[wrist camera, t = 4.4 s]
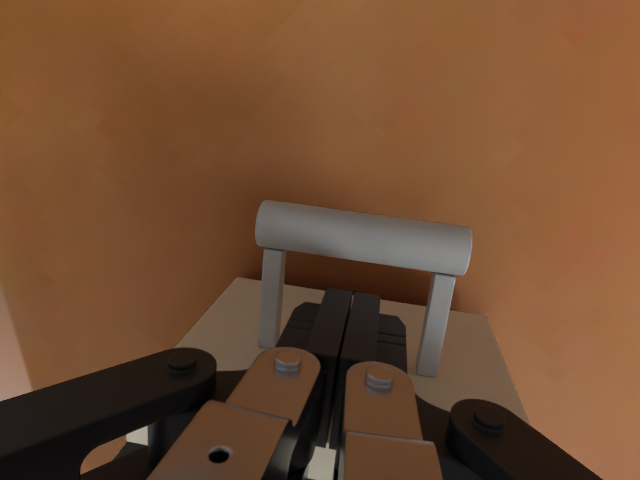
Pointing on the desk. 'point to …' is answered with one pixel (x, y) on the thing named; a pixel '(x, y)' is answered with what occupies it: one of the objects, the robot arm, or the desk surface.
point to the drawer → (361, 245)
